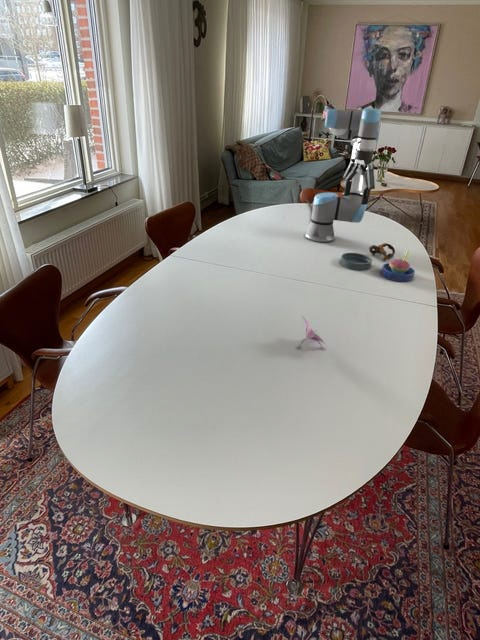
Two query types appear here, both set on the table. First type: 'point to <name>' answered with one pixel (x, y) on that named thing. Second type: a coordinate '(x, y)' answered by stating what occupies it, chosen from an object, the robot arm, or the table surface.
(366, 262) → the slate dish
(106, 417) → the table surface
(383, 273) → the blue dish
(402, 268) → the cupcake
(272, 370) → the table surface
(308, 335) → the lily
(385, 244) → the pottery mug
